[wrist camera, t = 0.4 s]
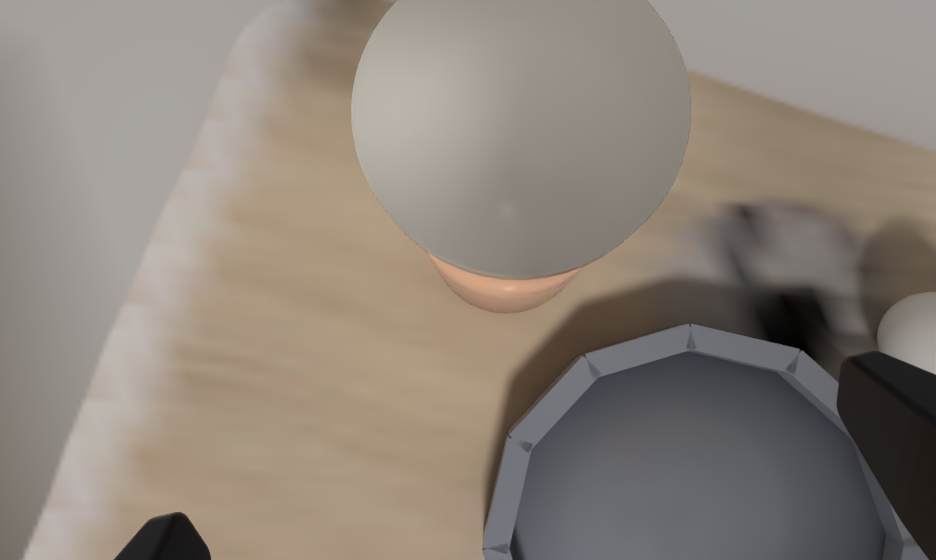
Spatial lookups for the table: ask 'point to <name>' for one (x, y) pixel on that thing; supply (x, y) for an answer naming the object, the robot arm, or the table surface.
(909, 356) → the pebble
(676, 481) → the bowl
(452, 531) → the table surface
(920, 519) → the robot arm
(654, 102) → the pebble jar
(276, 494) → the table surface
